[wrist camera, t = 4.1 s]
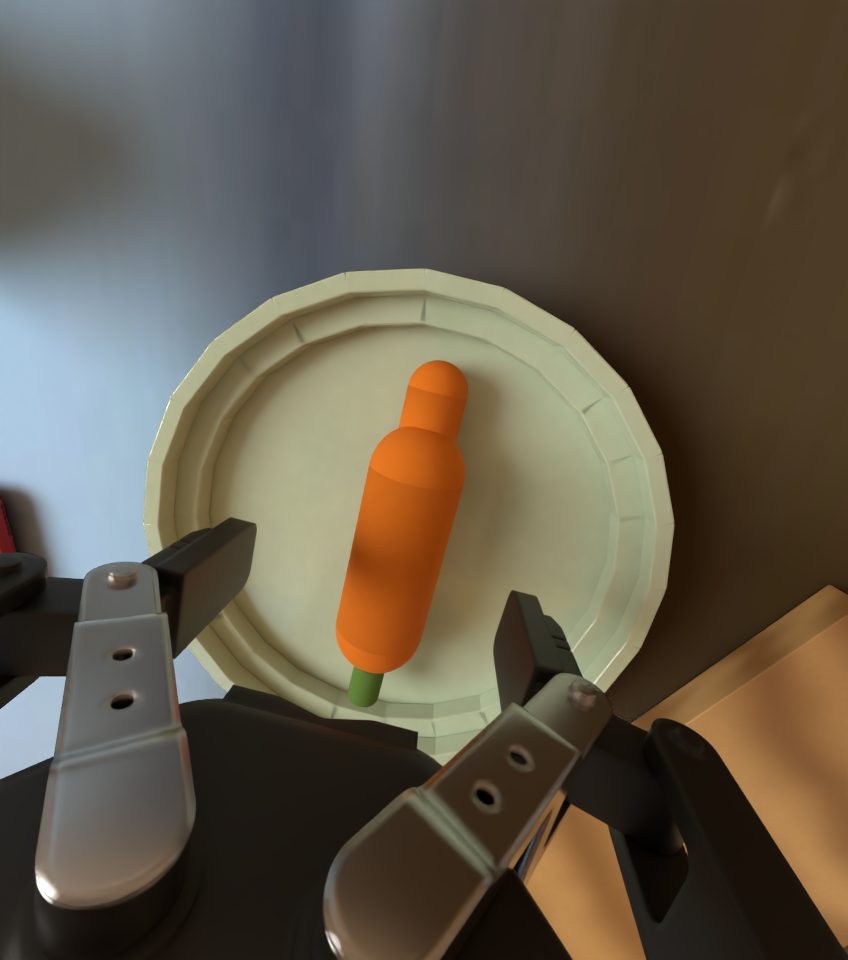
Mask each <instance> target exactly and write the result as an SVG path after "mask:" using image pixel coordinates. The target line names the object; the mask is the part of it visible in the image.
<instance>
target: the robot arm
mask: <svg viewBox="0 0 848 960" xmlns="http://www.w3.org/2000/svg"><path fill="white" fill-rule="evenodd" d="M256 533H257V526H256V524H255V523H252V522H249V521H245V520H241V519H237V518H233V517H230V518H228V519H226V520H225V521H223V522H222V523H220V524H219V525H217V526H216V527H214V528H213V529H212V528H205V529H201V530H197V531H194V532H191V533H189V534H187V535H186V536H184V537H183V538H181V539H180V540H179V541H176V542H174V543H173V544H171V545H170V546H169V547H166V548H165V549H163V550H161V551H160V552H158V553H156V554H155V555H153V556H152V557H150V558H148V559H147V560H145V561H143V562H142V563H137V562H115V563H109V564H105V565H102V566H99V567H97V568H94V569H93V570H91V571H89V572H88V573H87V574H86V576H85V577H84V579H72V578H56V577H47V562H46V561H45V559H43V558H42V557H40V556H37V555H34V554H28V553H0V709H1V708H2V707H3V706H5V705H6V704H7V703H8V702H10V701H11V700H12V699H13V698H15V697H16V696H17V695H18V694H20V693H21V692H22V691H23V690H24V689H26V688H27V687H28V686H29V685H31V684H32V683H33V682H34V681H36V680H37V679H38V678H39V677H40V676H66V682H65V688H64V694H63V701H62V707H61V714H60V720H59V727H58V733H57V740H56V746H55V752H54V757H51V758H49V759H47V760H44V761H42V762H40V763H37V764H35V765H33V766H30V767H28V768H26V769H23V770H21V771H19V772H16V773H14V774H12V775H9V776H7V777H5V778H2V779H0V960H573V959H572V957H571V956H570V954H569V953H568V951H567V950H566V948H565V947H564V945H563V943H562V942H561V940H560V939H559V937H558V936H557V934H556V933H555V931H554V929H553V928H552V926H551V925H550V923H549V922H548V920H547V919H546V917H545V916H544V914H543V912H542V911H541V909H540V908H539V906H538V905H537V903H536V902H535V900H534V899H533V897H532V895H531V894H530V892H529V891H528V889H527V888H526V886H527V884H528V882H529V880H530V878H531V876H532V874H533V872H534V870H535V869H536V867H537V865H538V863H539V861H540V860H541V858H542V856H543V855H544V853H545V851H546V850H547V848H548V846H549V844H550V843H551V841H552V839H553V838H554V836H555V834H556V833H557V831H558V829H559V827H560V826H561V824H562V822H563V821H564V819H565V817H566V816H567V814H568V812H569V811H570V809H571V807H572V805H574V806H575V807H577V808H579V809H581V810H582V811H584V812H586V813H588V814H589V815H591V816H593V817H595V818H597V819H598V820H600V821H602V822H604V823H605V824H607V825H608V829H609V833H610V836H611V840H612V843H613V846H614V850H615V853H616V857H617V860H618V864H619V867H620V871H621V874H622V878H623V881H624V884H625V888H626V891H627V895H628V898H629V902H630V905H631V909H632V912H633V916H634V919H635V923H636V926H637V929H638V933H639V936H640V940H641V943H642V947H643V950H644V954H645V957H646V960H848V955H847V954H846V952H845V950H844V949H843V947H842V946H841V944H840V943H839V941H838V940H837V938H836V936H835V935H834V933H833V932H832V930H831V929H830V927H829V925H828V924H827V922H826V921H825V919H824V918H823V916H822V915H821V913H820V911H819V910H818V908H817V907H816V905H815V904H814V902H813V900H812V899H811V897H810V896H809V894H808V893H807V891H806V890H805V888H804V886H803V885H802V883H801V882H800V880H799V879H798V877H797V876H796V874H795V872H794V871H793V869H792V868H791V866H790V865H789V863H788V861H787V860H786V858H785V857H784V855H783V854H782V852H781V851H780V849H779V847H778V846H777V844H776V843H775V841H774V840H773V838H772V837H771V835H770V833H769V832H768V830H767V829H766V827H765V826H764V824H763V822H762V821H761V819H760V818H759V816H758V815H757V813H756V812H755V810H754V808H753V807H752V805H751V804H750V802H749V801H748V799H747V798H746V796H745V794H744V793H743V791H742V790H741V788H740V787H739V785H738V783H737V782H736V780H735V779H734V777H733V776H732V774H731V773H730V771H729V769H728V768H727V766H726V765H725V763H724V762H723V760H722V759H721V757H720V755H719V754H718V753H717V751H716V750H715V749H714V747H713V746H712V745H711V744H710V743H709V742H708V741H707V740H706V739H704V738H703V737H702V736H701V735H700V734H698V733H697V732H695V731H694V730H692V729H691V728H689V727H687V726H686V725H684V724H682V723H679V722H677V721H674V720H671V719H666V718H658V719H655V720H654V721H653V723H652V725H651V727H650V729H649V731H648V732H647V731H645V730H643V729H641V728H639V727H637V726H635V725H633V724H631V723H629V722H627V721H624V720H622V719H621V718H619V717H617V716H615V715H614V714H612V713H613V707H612V704H611V701H610V700H609V698H608V697H607V695H606V694H605V693H604V692H603V691H602V690H601V689H600V688H599V687H597V686H596V685H595V684H593V683H592V682H590V681H588V680H587V679H585V678H583V676H582V674H581V671H580V669H579V667H578V664H577V662H576V660H575V657H574V655H573V653H572V652H571V648H570V646H569V643H568V642H567V639H566V636H565V634H564V632H563V629H562V628H561V627H560V625H559V624H558V623H557V622H556V621H555V620H554V619H553V618H552V617H551V616H548V615H544V614H543V611H542V608H541V606H540V603H539V600H538V598H537V596H534V595H530V594H527V593H523V592H519V591H515V590H512V591H511V592H510V594H509V596H508V599H507V602H506V605H505V608H504V611H503V614H502V617H501V620H500V623H499V626H498V629H497V632H496V635H495V639H494V645H493V658H494V665H495V671H496V678H497V685H498V692H499V699H500V706H501V713H500V714H499V715H498V716H497V717H496V718H495V719H494V720H493V721H492V722H491V723H489V724H488V725H487V726H486V727H485V728H484V729H483V730H482V731H481V732H480V733H479V734H478V735H476V736H475V737H474V738H473V739H472V740H471V741H470V742H469V743H468V744H467V745H466V746H465V747H464V748H462V749H461V750H460V751H459V752H458V753H457V754H456V755H455V756H454V757H453V758H452V759H451V760H449V761H448V762H447V763H446V764H445V765H444V766H442V765H441V764H440V763H438V762H437V761H436V760H435V759H434V758H432V757H431V756H429V755H428V754H426V753H425V752H423V751H421V750H419V749H417V741H418V732H417V731H413V730H409V729H405V728H401V727H397V726H393V725H389V724H386V723H382V722H378V721H374V720H353V719H327V718H321V717H319V716H317V715H315V714H313V713H311V712H309V711H307V710H305V709H303V708H301V707H299V706H297V705H295V704H293V703H291V702H289V701H287V700H286V699H284V698H282V697H280V696H277V695H273V694H269V693H265V692H261V691H257V690H253V689H250V688H246V687H242V686H238V685H234V684H233V686H232V687H231V688H230V690H229V691H228V693H227V694H226V696H225V697H224V698H223V699H203V700H196V701H191V702H186V703H182V704H179V703H178V695H177V687H176V679H175V671H174V663H173V659H175V658H176V657H177V656H178V655H179V654H180V653H181V652H182V651H183V650H184V649H185V648H186V647H187V646H188V645H189V644H190V643H191V642H192V641H193V640H194V639H195V638H196V637H197V636H198V634H199V633H200V632H201V631H202V630H203V629H204V628H205V627H206V626H207V625H208V624H209V623H210V622H211V621H212V620H213V619H214V618H215V617H216V616H217V615H218V614H219V613H220V612H221V611H222V610H223V609H224V608H225V607H226V606H227V605H228V603H229V602H230V601H231V600H232V599H233V598H234V597H235V596H236V595H237V594H238V593H239V592H240V591H241V590H242V589H243V587H244V586H245V584H246V582H247V580H248V577H249V575H250V571H251V565H252V559H253V552H254V546H255V540H256ZM683 843H685V846H686V849H687V852H686V850H685V848H684V846H683ZM687 854H688V855H687Z"/></svg>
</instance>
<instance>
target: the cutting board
mask: <svg viewBox="0 0 848 960" xmlns="http://www.w3.org/2000/svg"><path fill="white" fill-rule="evenodd" d="M658 718H666V719H671V720H674V721H677V722H679V723H682V724H684V725H686V726H687V727H689V728H691V729H692V730H694V731H695V732H697V733H698V734H700V735H701V736H702V737H703V738H704V739H706V740H707V741H708V742H709V743H710V744H711V745H712V746H713V747H714V749H715V750H716V751H717V753H718V754H719V755H720V757H721V759H722V760H723V762H724V763H725V765H726V766H727V768H728V769H729V771H730V773H731V774H732V776H733V777H734V779H735V780H736V782H737V783H738V785H739V787H740V788H741V790H742V791H743V793H744V794H745V796H746V798H747V799H748V801H749V802H750V804H751V805H752V807H753V808H754V810H755V812H756V813H757V815H758V816H759V818H760V819H761V821H762V822H763V824H764V826H765V827H766V829H767V830H768V832H769V833H770V835H771V837H772V838H773V840H774V841H775V843H776V844H777V846H778V847H779V849H780V851H781V852H782V854H783V855H784V857H785V858H786V860H787V861H788V863H789V865H790V866H791V868H792V869H793V871H794V872H795V874H796V876H797V877H798V879H799V880H800V882H801V883H802V885H803V886H804V888H805V890H806V891H807V893H808V894H809V896H810V897H811V899H812V900H813V902H814V904H815V905H816V907H817V908H818V910H819V911H820V913H821V915H822V916H823V918H824V919H825V921H826V922H827V924H828V925H829V927H830V929H831V930H832V932H833V933H834V935H835V936H836V938H837V940H838V941H839V943H840V944H841V946H842V947H845V946H847V945H848V595H847V594H845V593H844V592H842V591H840V590H839V589H837V588H835V587H833V586H832V585H827V586H826V587H824V588H823V589H821V590H820V591H819V592H817V593H816V594H814V595H813V596H811V597H810V598H809V599H807V600H806V601H804V602H803V603H801V604H800V605H799V606H797V607H796V608H794V609H793V610H791V611H790V612H789V613H787V614H786V615H784V616H783V617H781V618H780V619H779V620H777V621H776V622H774V623H773V624H772V625H770V626H769V627H767V628H766V629H764V630H763V631H762V632H760V633H759V634H757V635H756V636H754V637H753V638H752V639H750V640H749V641H747V642H746V643H744V644H743V645H742V646H740V647H739V648H737V649H736V650H734V651H733V652H732V653H730V654H729V655H727V656H726V657H724V658H723V659H722V660H720V661H719V662H717V663H716V664H715V665H713V666H712V667H710V668H709V669H707V670H706V671H705V672H703V673H702V674H700V675H699V676H697V677H696V678H695V679H693V680H692V681H690V682H689V683H687V684H686V685H685V686H683V687H682V688H680V689H679V690H677V691H676V692H675V693H673V694H672V695H670V696H669V697H667V698H666V699H665V700H663V701H662V702H660V703H659V704H658V705H656V706H655V707H653V708H652V709H650V710H649V711H648V712H646V713H645V714H643V715H642V716H640V717H639V718H638V719H636V720H635V721H633V722H632V723H631V724H633V725H635V726H637V727H639V728H641V729H643V730H645V731H647V732H648V731H649V729H650V727H651V725H652V723H653V721H654V720H655V719H658ZM683 846H684V848H685V850H686V852H687V849H686V846H685V843H683ZM687 855H688V854H687ZM526 888H527V889H528V891H529V892H530V894H531V895H532V897H533V899H534V900H535V902H536V903H537V905H538V906H539V908H540V909H541V911H542V912H543V914H544V916H545V917H546V919H547V920H548V922H549V923H550V925H551V926H552V928H553V929H554V931H555V933H556V934H557V936H558V937H559V939H560V940H561V942H562V943H563V945H564V947H565V948H566V950H567V951H568V953H569V954H570V956H571V957H572V959H573V960H646V957H645V954H644V950H643V947H642V943H641V940H640V936H639V933H638V929H637V926H636V923H635V919H634V916H633V912H632V909H631V905H630V902H629V898H628V895H627V891H626V888H625V884H624V881H623V878H622V874H621V871H620V867H619V864H618V860H617V857H616V853H615V850H614V846H613V843H612V840H611V836H610V833H609V829H608V825H607V824H605V823H604V822H602V821H600V820H598V819H597V818H595V817H593V816H591V815H589V814H588V813H586V812H584V811H582V810H581V809H579V808H577V807H575V806H574V805H572V807H571V809H570V811H569V812H568V814H567V816H566V817H565V819H564V821H563V822H562V824H561V826H560V827H559V829H558V831H557V833H556V834H555V836H554V838H553V839H552V841H551V843H550V844H549V846H548V848H547V850H546V851H545V853H544V855H543V856H542V858H541V860H540V861H539V863H538V865H537V867H536V869H535V870H534V872H533V874H532V876H531V878H530V880H529V882H528V884H527V886H526Z"/></svg>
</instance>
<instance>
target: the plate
mask: <svg viewBox="0 0 848 960" xmlns="http://www.w3.org/2000/svg"><path fill="white" fill-rule="evenodd" d="M434 360H442V361H446V362H449V363H452V364H453V365H455V366H456V367H457V368H458V369H460V370H461V372H462V373H463V375H464V376H465V379H466V381H467V385H468V397H467V401H466V405H465V409H464V413H463V417H462V421H461V424H460V428H459V432H458V436H457V440H456V443H455V444H456V445H457V447H458V448H459V451H460V453H461V455H462V457H463V461H464V465H465V480H464V485H463V489H462V493H461V496H460V500H459V504H458V507H457V511H456V515H455V518H454V522H453V525H452V529H451V533H450V536H449V540H448V544H447V547H446V551H445V555H444V558H443V562H442V565H441V569H440V573H439V576H438V580H437V584H436V587H435V591H434V595H433V598H432V602H431V605H430V609H429V613H428V616H427V620H426V624H425V627H424V631H423V635H422V638H421V641H420V644H419V646H418V649H417V650H416V652H415V653H414V655H413V656H412V657H411V659H410V660H409V661H407V662H406V663H405V664H404V665H403V666H401V667H400V668H398V669H395V670H393V671H391V672H387V673H384V677H383V681H382V685H381V689H380V693H379V697H378V700H377V702H376V703H375V704H374V705H372V706H370V707H359V706H356V705H355V704H353V703H352V702H351V701H350V699H349V697H348V689H349V685H350V680H351V676H352V672H353V667H354V666H353V665H352V664H351V663H350V662H349V661H348V660H347V659H346V658H345V657H344V655H343V654H342V652H341V650H340V648H339V645H338V642H337V638H336V619H337V615H338V610H339V605H340V600H341V596H342V591H343V586H344V581H345V577H346V572H347V567H348V562H349V558H350V553H351V548H352V543H353V539H354V534H355V529H356V524H357V520H358V515H359V510H360V505H361V501H362V496H363V491H364V486H365V482H366V477H367V472H368V467H369V463H370V460H371V456H372V454H373V452H374V450H375V448H376V447H377V445H378V443H379V442H380V441H381V440H382V439H383V438H384V437H385V436H386V435H388V434H389V433H390V432H392V431H394V430H396V429H398V427H399V423H400V418H401V414H402V409H403V405H404V400H405V396H406V391H407V387H408V383H409V380H410V378H411V376H412V374H413V373H414V372H415V371H416V369H417V368H419V367H420V366H421V365H423V364H425V363H427V362H430V361H434ZM148 459H149V460H148V461H147V474H146V489H145V503H144V518H143V522H144V524H143V526H144V531H145V536H146V541H147V546H148V551H149V556H150V557H152V556H153V555H155V554H156V553H158V552H160V551H161V550H163V549H165V548H166V547H169V546H170V545H171V544H173V543H174V542H176V541H179V540H180V539H181V538H183V537H184V536H186V535H187V534H189V533H191V532H194V531H197V530H201V529H205V528H212V529H213V528H214V527H216V526H217V525H219V524H220V523H222V522H223V521H225V520H226V519H228V518H230V517H233V518H237V519H241V520H245V521H249V522H252V523H255V524H256V526H257V533H256V540H255V546H254V552H253V559H252V565H251V571H250V575H249V577H248V580H247V582H246V584H245V586H244V587H243V589H242V590H241V591H240V592H239V593H238V594H237V595H236V596H235V597H234V598H233V599H232V600H231V601H230V602H229V603H228V605H227V606H226V607H225V608H224V609H223V610H222V611H221V612H220V613H219V614H218V615H217V616H216V617H215V618H214V619H213V620H212V621H211V622H210V623H209V624H208V625H207V626H206V627H205V628H204V629H203V630H202V631H201V632H200V633H199V634H198V636H197V637H196V638H195V639H194V640H193V641H192V642H191V643H190V644H189V645H188V646H187V647H188V648H189V649H190V650H191V652H192V653H193V654H194V655H195V657H196V658H197V659H198V660H199V662H200V663H201V664H202V665H203V667H204V668H205V669H206V670H207V671H208V673H209V674H210V675H211V676H212V678H213V679H214V680H215V681H216V683H217V684H218V685H219V686H221V688H223V689H224V690H225V691H226V692H228V691H229V690H230V688H231V687H232V686H233V684H234V685H238V686H242V687H246V688H250V689H253V690H257V691H261V692H265V693H269V694H273V695H277V696H280V697H282V698H284V699H286V700H287V701H289V702H291V703H293V704H295V705H297V706H299V707H301V708H303V709H305V710H307V711H309V712H311V713H313V714H315V715H317V716H319V717H321V718H327V719H353V720H374V721H378V722H382V723H386V724H389V725H393V726H397V727H401V728H405V729H409V730H413V731H417V732H418V741H417V749H419V750H421V751H423V752H425V753H426V754H428V755H429V756H431V757H432V758H434V759H435V760H436V761H437V762H438V763H440V764H441V765H442V766H444V765H445V764H446V763H447V762H448V761H449V760H451V759H452V758H453V757H454V756H455V755H456V754H457V753H458V752H459V751H460V750H461V749H462V748H464V747H465V746H466V745H467V744H468V743H469V742H470V741H471V740H472V739H473V738H474V737H475V736H476V735H478V734H479V733H480V732H481V731H482V730H483V729H484V728H485V727H486V726H487V725H488V724H489V723H491V722H492V721H493V720H494V719H495V718H496V717H497V716H498V715H499V714H500V713H501V706H500V699H499V692H498V685H497V678H496V671H495V665H494V658H493V645H494V639H495V635H496V632H497V629H498V626H499V623H500V620H501V617H502V614H503V611H504V608H505V605H506V602H507V599H508V596H509V594H510V592H511V591H512V590H515V591H519V592H523V593H527V594H530V595H534V596H537V598H538V600H539V603H540V606H541V608H542V611H543V614H544V615H548V616H551V617H552V618H553V619H554V620H555V621H556V622H557V623H558V624H559V625H560V627H561V628H562V629H563V632H564V634H565V636H566V639H567V642H568V643H569V646H570V648H571V652H572V653H573V655H574V657H575V660H576V662H577V664H578V667H579V669H580V671H581V674H582V676H583V678H585V679H587V680H588V681H590V682H592V683H593V684H595V685H596V686H597V687H599V688H600V689H601V690H602V691H603V692H604V693H605V692H606V691H607V690H608V688H609V687H610V686H611V685H612V684H613V682H614V681H615V680H616V679H617V677H618V676H619V675H620V674H621V672H622V671H623V670H624V669H625V668H626V666H627V665H628V664H629V663H630V661H631V660H632V659H633V658H634V656H635V655H636V654H637V653H638V652H639V650H640V649H639V648H641V647H642V644H643V642H644V640H645V638H646V635H647V633H648V631H649V628H650V626H651V624H652V622H653V619H654V617H655V615H656V612H657V610H658V608H659V606H660V603H661V601H662V599H663V596H664V594H665V590H666V589H667V582H668V574H669V566H670V558H671V550H672V542H673V534H674V526H675V524H674V516H673V510H672V504H671V499H670V493H669V487H668V481H667V475H666V469H665V463H664V457H663V454H662V450H661V448H660V446H659V444H658V442H657V440H656V438H655V436H654V434H653V432H652V430H651V428H650V426H649V424H648V422H647V420H646V418H645V416H644V414H643V412H642V410H641V408H640V406H639V404H638V402H637V400H636V398H635V396H634V394H633V392H632V390H631V388H630V387H628V384H627V383H626V382H625V381H624V380H623V379H622V378H621V376H620V375H619V374H618V373H617V372H616V371H615V370H614V369H613V368H612V367H611V366H610V365H609V364H608V363H607V362H606V361H605V359H604V358H603V357H602V356H601V355H600V354H599V353H598V352H597V351H596V350H595V349H594V348H593V347H592V346H591V345H590V344H589V342H588V341H587V340H586V339H585V338H584V337H583V336H582V335H581V334H580V333H579V332H578V331H577V330H575V328H574V327H572V326H570V325H569V324H567V323H565V322H563V321H562V320H560V319H558V318H557V317H555V316H553V315H551V314H550V313H548V312H546V311H545V310H543V309H541V308H539V307H538V306H536V305H534V304H533V303H531V302H529V301H527V300H526V299H524V298H522V297H521V296H519V295H517V294H515V293H514V292H512V291H510V290H509V289H505V288H504V287H501V286H497V285H493V284H488V283H484V282H480V281H476V280H472V279H468V278H464V277H460V276H456V275H452V274H448V273H444V272H440V271H436V270H432V269H426V270H425V269H424V268H417V269H395V270H372V271H350V272H346V273H344V272H343V273H340V274H337V275H335V276H332V277H329V278H326V279H323V280H320V281H317V282H314V283H312V284H309V285H306V286H303V287H300V288H297V289H294V290H291V291H289V292H286V293H283V294H280V295H277V296H274V297H273V298H270V299H269V300H267V301H266V302H265V303H263V304H262V305H261V306H259V307H258V308H256V309H255V310H254V311H252V312H251V313H250V314H248V315H247V316H245V317H244V318H243V319H241V320H240V321H239V322H237V323H236V324H235V325H233V326H232V327H230V328H229V329H228V330H226V331H225V332H224V333H222V334H221V335H219V336H218V337H217V338H215V339H214V340H213V342H211V343H210V344H209V346H208V347H207V348H206V350H205V351H204V352H203V354H202V355H201V356H200V358H199V359H198V360H197V362H196V363H195V364H194V366H193V367H192V368H191V370H190V371H189V372H188V374H187V375H186V376H185V378H184V379H183V380H182V382H181V383H180V384H179V386H178V387H177V388H176V390H175V391H174V393H173V394H172V395H171V398H170V399H169V402H168V405H167V408H166V410H165V413H164V416H163V419H162V421H161V424H160V427H159V429H158V432H157V435H156V438H155V440H154V443H153V446H152V449H151V451H150V454H149V457H148Z"/></svg>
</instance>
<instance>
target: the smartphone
mask: <svg viewBox="0 0 848 960" xmlns="http://www.w3.org/2000/svg"><path fill="white" fill-rule="evenodd" d="M0 553H16V549H15V545H14V541H13V538H12V534H11V530H10V527H9V523H8V519H7V516H6V512H5V508H4V505H3V502H2V500H1V498H0Z"/></svg>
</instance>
